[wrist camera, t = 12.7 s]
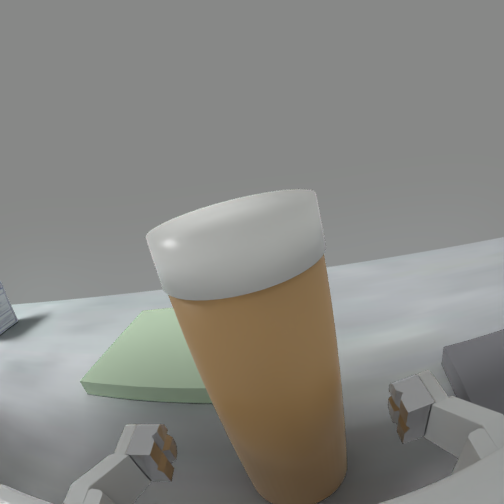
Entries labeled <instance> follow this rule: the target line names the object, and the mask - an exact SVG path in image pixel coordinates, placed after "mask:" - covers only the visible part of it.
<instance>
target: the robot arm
mask: <svg viewBox="0 0 504 504" xmlns="http://www.w3.org/2000/svg"><path fill="white" fill-rule="evenodd" d="M389 392H390V394H391V396H390V398H389V399H388V408H389V414H390V417H391V419H392V422H393V423H395V424H397V425H398V426H397V433H398V435H399V437H400V439H401V441H402V444H405V443H408V442H411V441H413V440H416V439H419V438H422V437H424V436H425V437H424V438H426V439H427V440H429V441H431V442H432V443H434V444H436V445H437V446H439V447H441V448H442V449H444V450H445V451H447V452H449V453H451V454H452V455H454V456H456V457H457V458H459V459H458V461H457V463H456V465H455V467H454V469H453V471H452V475H450V476H448V477H446V478H444V479H441V480H439V481H437V482H435V483H432V484H430V485H428V486H425V487H423V488H420V489H418V490H415V491H413V492H410V493H407V494H405V495H402V496H399V497H396V498H393V499H391V500H388V501H384V502H381V503H378V504H504V415H503V414H501V413H498V412H495V411H493V410H490V409H487V408H484V407H481V406H479V405H476V404H473V403H471V402H468V401H465V400H462V399H460V398H457V397H455V396H450V397H448V395H447V394H446V392H445V391H444V389H443V388H442V387H441V385H440V384H439V382H438V381H437V380H436V378H435V377H434V375H433V374H432V373H431V371H430V370H425V371H423V372H420V373H417V374H415V375H412V376H409V377H406V378H404V379H401V380H398V381H395V382H392V383H390V385H389ZM167 431H168V430H167V428H166V427H165V425H164V424H127V425H126V426H125V427H124V429H123V431H122V434H121V436H120V439H119V441H118V444H117V446H116V449H115V451H114V454H110V455H108V456H107V457H106V458H104V459H103V460H102V461H101V462H99V463H98V464H97V465H95V466H94V467H93V468H91V469H90V470H89V471H88V472H86V473H85V474H84V475H82V476H81V477H80V478H78V479H77V480H76V481H74V482H73V483H72V484H71V486H70V488H69V490H68V493H67V495H66V497H65V500H64V502H63V504H133V503H134V502H135V500H136V499H137V498H138V497H139V496H140V495H141V494H142V493H143V492H144V490H145V489H146V488H147V487H148V486H149V485H150V484H151V481H156V482H171V481H172V476H173V472H174V467H173V466H172V463H173V462H174V461H175V460H176V457H177V446H176V443H175V441H174V439H173V437H171V436H169V435H168V434H167ZM0 504H53V503H50V502H47V501H44V500H41V499H39V498H36V497H33V496H30V495H28V494H25V493H23V492H20V491H18V490H15V489H13V488H11V487H8V486H6V485H2V484H0Z"/></svg>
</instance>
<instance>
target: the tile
mask: <svg viewBox="0 0 504 504" xmlns="http://www.w3.org/2000/svg"><path fill="white" fill-rule="evenodd" d="M80 382H81V384H82V386H83V387H84V389H85V390H86V392H87V394H91V395H98V396H106V397H114V398H123V399H133V400H144V401H158V402H177V403H212V401H211V399H210V397H209V394H208V392H207V390H206V388H205V385H204V383H203V381H202V379H201V376H200V374H199V372H198V369H197V367H196V364H195V362H194V360H193V357H192V355H191V352H190V350H189V347H188V345H187V343H186V340H185V337H184V335H183V332H182V330H181V327H180V325H179V322H178V319H177V317H176V314H175V311H174V309H173V308H165V309H155V310H145V311H142V312H141V313H140V314H139V315H138V316H137V317H136V318H135V320H134V321H133V322H132V323H131V324H130V325H129V326H128V327H127V328H126V329H125V331H124V332H123V333H122V334H121V335H120V336H119V337H118V338H117V339H116V341H115V342H114V343H113V344H112V345H111V346H110V347H109V348H108V350H107V351H106V352H105V353H104V354H103V355H102V356H101V357H100V359H99V360H98V361H97V362H96V363H95V364H94V365H93V367H92V368H91V369H90V370H89V371H88V372H87V373H86V375H85V376H84V377H83V378H82V379H81V380H80Z"/></svg>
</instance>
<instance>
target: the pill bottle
mask: <svg viewBox="0 0 504 504" xmlns="http://www.w3.org/2000/svg"><path fill="white" fill-rule="evenodd" d="M146 241H147V243H148V247H149V250H150V253H151V256H152V259H153V262H154V265H155V268H156V271H157V274H158V277H159V280H160V282H161V285H162V288H163V290H164V292H165V293H166V294H168V295H169V298H170V301H171V303H172V306H173V309H174V311H175V314H176V317H177V319H178V322H179V325H180V327H181V330H182V332H183V335H184V337H185V340H186V343H187V345H188V347H189V350H190V352H191V355H192V357H193V360H194V362H195V364H196V367H197V369H198V372H199V374H200V376H201V379H202V381H203V383H204V385H205V388H206V390H207V392H208V394H209V397H210V399H211V401H212V403H213V405H214V408H215V410H216V412H217V414H218V416H219V418H220V420H221V423H222V425H223V427H224V429H225V431H226V433H227V435H228V437H229V439H230V441H231V443H232V445H233V447H234V449H235V451H236V453H237V455H238V457H239V459H240V461H241V463H242V464H243V466H244V468H245V470H246V472H247V474H248V476H249V478H250V479H251V481H252V483H253V485H254V487H255V488H256V490H257V492H258V493H259V494H260V495H261V496H262V497H263V498H264V499H266V500H267V501H269V502H271V503H273V504H315V503H317V502H320V501H322V500H324V499H325V498H327V497H328V496H330V495H331V494H332V493H333V492H335V491H336V490H337V488H338V487H339V486H340V485H341V483H342V481H343V480H344V477H345V475H346V471H347V452H346V435H345V421H344V408H343V396H342V385H341V375H340V366H339V357H338V348H337V340H336V332H335V324H334V317H333V309H332V302H331V296H330V289H329V282H328V276H327V270H326V264H325V258H324V253H325V250H326V244H325V238H324V233H323V227H322V222H321V216H320V211H319V206H318V201H317V195H316V192H315V191H313V190H308V189H290V190H280V191H272V192H266V193H260V194H255V195H250V196H245V197H240V198H236V199H232V200H228V201H225V202H221V203H217V204H214V205H210V206H207V207H204V208H201V209H197V210H195V211H192V212H189V213H186V214H183V215H181V216H178V217H176V218H173V219H171V220H169V221H167V222H165V223H163V224H160V225H159V226H157V227H155V228H154V229H152V230H151V231H149V232H148V233H147V235H146Z"/></svg>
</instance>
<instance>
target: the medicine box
mask: <svg viewBox="0 0 504 504" xmlns="http://www.w3.org/2000/svg"><path fill="white" fill-rule="evenodd" d="M16 322H18V319H17V317H16V315H15V313H14V311H13V308H12V306H11V304H10V301H9V299H8V297H7V295H6V292H5V289H4V287H3V285H2V282H1V280H0V335H1V334H2V333H3V332H4V331H6V330H7V329H8V328H10V327H11V326H12V325H14V324H15V323H16Z"/></svg>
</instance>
